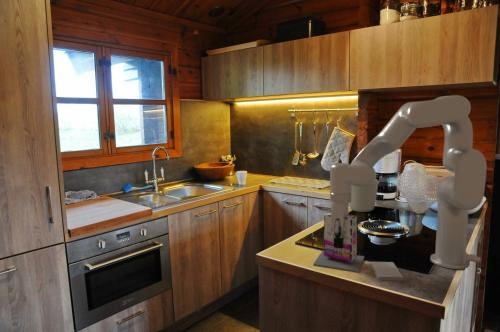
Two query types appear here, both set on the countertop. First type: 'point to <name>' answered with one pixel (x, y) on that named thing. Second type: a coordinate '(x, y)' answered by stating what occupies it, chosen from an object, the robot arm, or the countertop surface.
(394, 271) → the hard drive
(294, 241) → the countertop surface
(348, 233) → the candy bar box
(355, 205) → the canister
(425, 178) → the heart
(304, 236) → the countertop surface
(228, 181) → the countertop surface
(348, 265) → the mat
